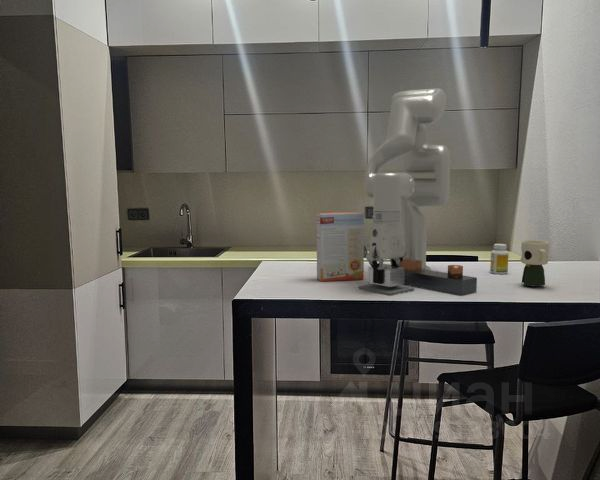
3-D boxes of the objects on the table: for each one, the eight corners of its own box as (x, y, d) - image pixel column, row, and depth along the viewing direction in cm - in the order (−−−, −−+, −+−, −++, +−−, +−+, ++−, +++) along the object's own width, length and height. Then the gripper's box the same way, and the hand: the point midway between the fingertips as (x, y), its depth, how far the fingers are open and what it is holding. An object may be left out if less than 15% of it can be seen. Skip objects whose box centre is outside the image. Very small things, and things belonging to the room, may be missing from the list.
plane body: (392, 282, 151) (392, 259, 150) (407, 279, 155) (407, 257, 154) (461, 295, 132) (462, 269, 131) (476, 291, 136) (477, 266, 136)
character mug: (512, 282, 149) (513, 239, 148) (535, 282, 149) (537, 239, 148) (530, 290, 138) (532, 243, 137) (555, 290, 139) (557, 243, 137)
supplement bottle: (487, 272, 166) (488, 244, 165) (495, 271, 170) (496, 243, 169) (502, 275, 162) (503, 245, 161) (510, 273, 166) (511, 244, 165)
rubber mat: (358, 288, 142) (358, 286, 142) (382, 284, 148) (382, 282, 148) (390, 295, 133) (390, 293, 132) (414, 290, 139) (414, 288, 139)
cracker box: (358, 276, 161) (358, 211, 159) (364, 280, 155) (364, 212, 153) (315, 278, 158) (315, 212, 156) (320, 281, 152) (320, 213, 150)
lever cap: (368, 282, 141) (368, 264, 141) (382, 280, 145) (383, 262, 145) (390, 286, 135) (390, 267, 135) (404, 284, 139) (404, 265, 138)
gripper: (375, 220, 130) (374, 288, 132) (417, 217, 141) (416, 280, 143) (355, 218, 136) (354, 283, 138) (397, 216, 146) (396, 276, 148)
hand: (386, 281), depth 140 cm, fingers closed on lever cap, 6 cm apart
